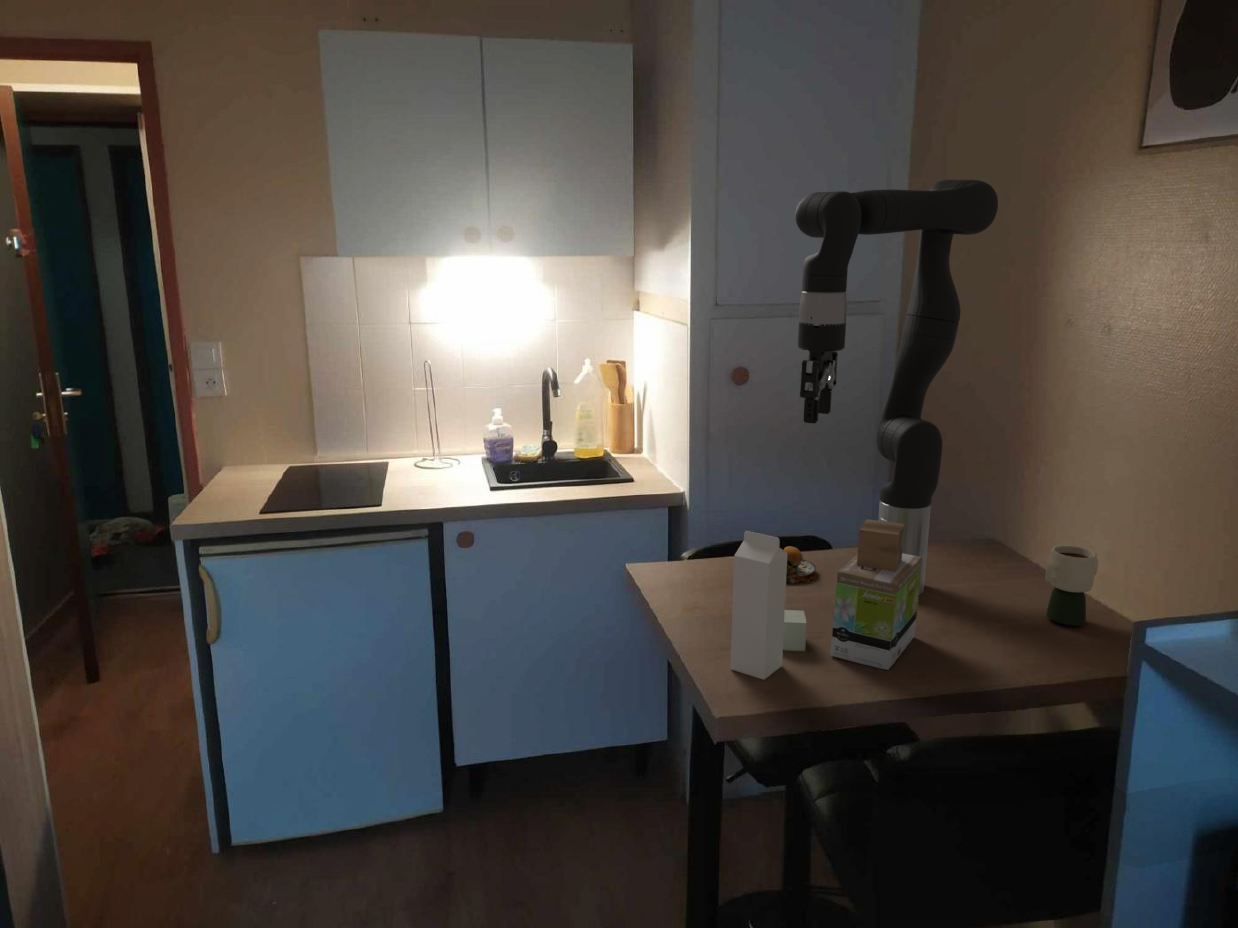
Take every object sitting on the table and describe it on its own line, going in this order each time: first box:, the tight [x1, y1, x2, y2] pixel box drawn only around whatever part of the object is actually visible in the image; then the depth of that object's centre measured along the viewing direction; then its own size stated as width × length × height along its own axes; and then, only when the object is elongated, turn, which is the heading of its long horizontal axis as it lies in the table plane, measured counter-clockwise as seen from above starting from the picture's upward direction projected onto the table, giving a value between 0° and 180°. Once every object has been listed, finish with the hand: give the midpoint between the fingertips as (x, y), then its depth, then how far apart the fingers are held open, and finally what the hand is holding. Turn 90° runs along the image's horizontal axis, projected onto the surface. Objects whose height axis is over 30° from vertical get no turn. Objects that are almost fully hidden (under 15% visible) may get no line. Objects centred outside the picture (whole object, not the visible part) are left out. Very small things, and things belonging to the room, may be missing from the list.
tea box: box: [829, 553, 922, 671], centre depth 152 cm, size 15×10×15 cm
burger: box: [783, 546, 817, 585], centre depth 186 cm, size 12×12×8 cm
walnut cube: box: [856, 518, 905, 571], centre depth 149 cm, size 6×6×6 cm
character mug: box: [1044, 544, 1099, 627], centre depth 162 cm, size 11×7×13 cm, turn 109°
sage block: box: [783, 609, 808, 652], centre depth 154 cm, size 5×5×5 cm
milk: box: [730, 530, 787, 681], centre depth 144 cm, size 6×6×22 cm
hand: (817, 418), depth 156 cm, fingers open, 8 cm apart
